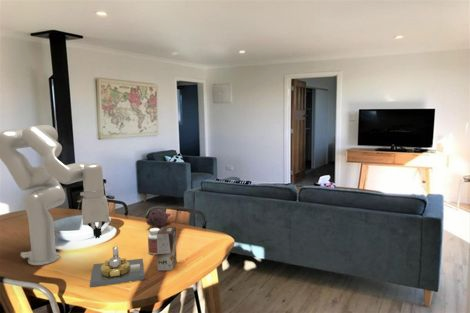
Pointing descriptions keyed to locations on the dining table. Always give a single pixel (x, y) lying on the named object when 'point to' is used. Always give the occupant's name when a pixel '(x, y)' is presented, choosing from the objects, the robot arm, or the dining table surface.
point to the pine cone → (157, 218)
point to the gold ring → (115, 272)
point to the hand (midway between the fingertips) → (97, 237)
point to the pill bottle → (152, 241)
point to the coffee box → (166, 248)
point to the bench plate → (132, 275)
